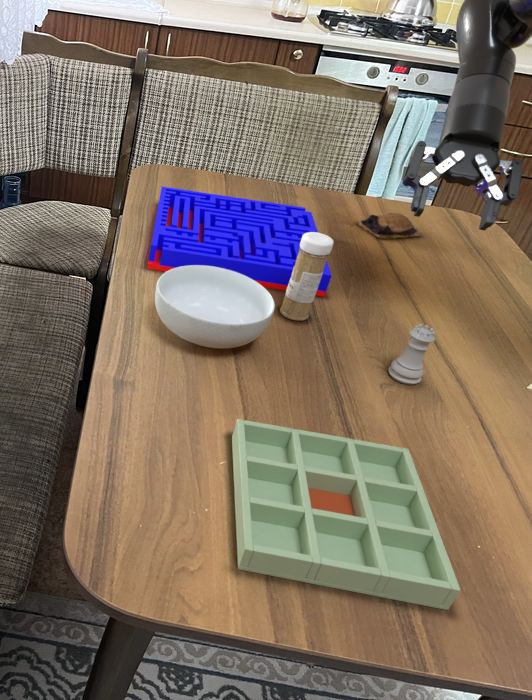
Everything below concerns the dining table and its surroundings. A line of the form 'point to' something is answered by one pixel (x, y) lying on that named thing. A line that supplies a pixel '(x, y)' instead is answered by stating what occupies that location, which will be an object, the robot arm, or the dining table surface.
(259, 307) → the cereal bowl
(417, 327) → the rook chess piece
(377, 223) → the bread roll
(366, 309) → the dining table surface
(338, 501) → the grid
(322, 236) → the sprinkles bottle
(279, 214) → the maze
